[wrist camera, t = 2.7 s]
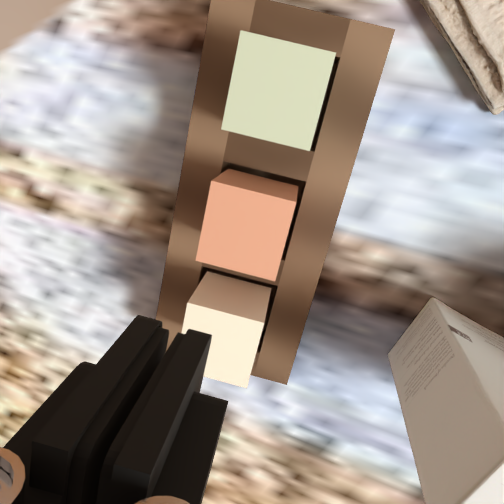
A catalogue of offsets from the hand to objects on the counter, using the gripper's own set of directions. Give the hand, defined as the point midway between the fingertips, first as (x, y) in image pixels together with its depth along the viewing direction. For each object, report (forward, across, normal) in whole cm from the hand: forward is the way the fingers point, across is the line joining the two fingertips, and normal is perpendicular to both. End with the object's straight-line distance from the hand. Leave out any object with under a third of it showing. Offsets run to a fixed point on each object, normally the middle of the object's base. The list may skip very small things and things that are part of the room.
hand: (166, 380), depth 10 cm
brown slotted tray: (+21, 0, 0) cm, 21 cm away
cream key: (+18, 0, +7) cm, 19 cm away
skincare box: (+21, -16, +7) cm, 28 cm away
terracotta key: (+18, 0, 0) cm, 18 cm away
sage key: (+18, 0, -7) cm, 19 cm away
